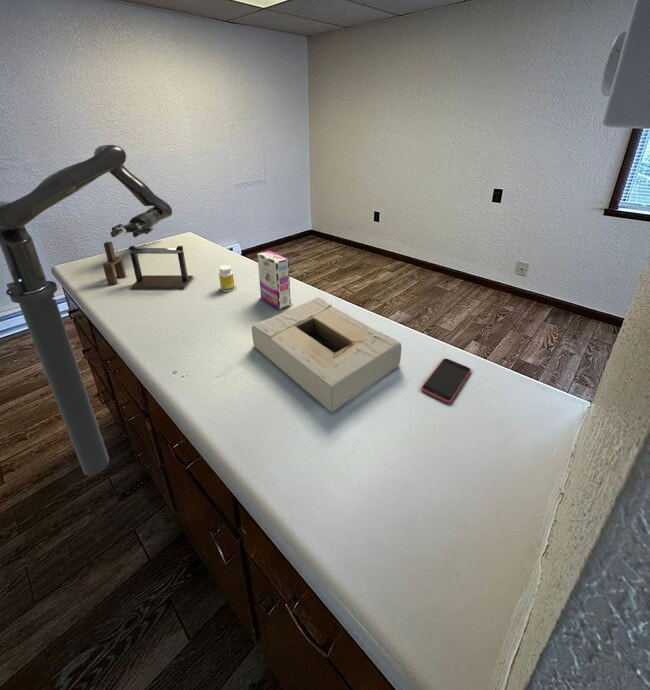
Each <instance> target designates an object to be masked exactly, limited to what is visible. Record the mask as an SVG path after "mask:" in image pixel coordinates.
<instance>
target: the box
mask: <svg viewBox="0 0 650 690" xmlns="http://www.w3.org/2000/svg"><path fill="white" fill-rule="evenodd" d="M251 335H252V342H253V346H254V347H255V348H256V350H258V351H260V353H262V354H263V355H264V356H265V357H266V358H267V359H268V360H269V361H270V362H272V363H273V364H274V365H275V366H277V367H278V368H279V369H280V370H281V371H282V372H283V373H285V374H286V375H287V376H288V377H289V378H291V379H292V380H293V381H294V382H295V383H296V384H298V385H299V386H300V387H301V388H302V389H303V390H304V391H306V392H307V393H308V394H309V395H310V396H311V397H312V398H314V399H315V400H316V401H318V402H319V403H320V404H321V405H322V406H323V407H324V408H325V409H327V411H329V412H331V413H332V412H335V411H336V410H337V409H339V408H341V407H342V406H343V405H344V404H346V403H348V402H349V401H351V400H352V399H354V398H355V397H356V396H358V395H359V394H360V393H362V392H364V391H365V390H366V389H368V388H369V387H370V386H372V385H373V384H375V383H376V382H378V381H379V380H380V379H382V378H383V377H384V376H386V375H388V374H390V372H392V371H393V370H395V369H396V368H397V367H399V366H400V364H401V360H402V359H401V357H402V344H401V342H400V341H398V340H397V339H395V338H393V337H391V336H389V335H386V334H384V333H383V332H381V331H378V330H376V329H375V328H372V327H371V326H369V325H367V324H365V323H364V322H362V321H360V320H358V319H356V318H354V317H353V316H351V315H349V314H347V313H345V312H343V311H342V310H340V309H338V308H337V307H335V306H333V305H332V304H330V303H329V302H326V300H324V299H323V298H321V297H318V296H317V297H314V298H313V299H311V300H309V301H306V302H304V303H301V304H300V305H297V306H295V307H293V308H290V309H288V310H286V311H283V312H281V313H279V314H276V315H274V316H272V317H269V318H268V319H265V320H262V321H260V322H257V323H254V324H253V325H252V326H251Z"/></svg>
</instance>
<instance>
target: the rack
mask: <svg viewBox="0 0 650 690" xmlns="http://www.w3.org/2000/svg"><path fill="white" fill-rule="evenodd" d="M183 246H184V245H178V246H176V247H137V246H136V245H130V246H129V247H128V250H129V255H130V259H131V263H132V269H133V272H134V276H135V282H134V283H133V284H132V285H131V286H130V288H131V290H185V289H186V288H187V286H188V285H189V284H190V283H191V281H192V280H193V279H194V278H193V277H194V276H193V275H188V269H187V264H186V258H185V251H184V247H183ZM142 254H146V255H147V254H149V255H151V254H152V255H153V254H155V255H157V254H158V255H163V254H164V255H165V254H166V255H167V254H169V255H177V258H178V263H179V269H180V275H175V274H174V275H173V274H172V275H171V274H170V275H168V274H167V275H166V274H165V275H154V274H153V275H151V274H150V275H149V274H148V275H143V273H142V269H141V265H140V261H139V257H138V255H142Z"/></svg>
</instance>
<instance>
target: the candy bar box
mask: <svg viewBox="0 0 650 690" xmlns="http://www.w3.org/2000/svg"><path fill="white" fill-rule="evenodd" d="M256 255H257V266H258V278H259V291H260V299H261V300H263V301H265V302H266V303H268V304H270V305H271V306H273V307H274V308H275V309H278V310H279V311H280V310H282V309H285V308H287V307H290V306H291V304H292V301H291V282H290V279H291V278H290V260H289V258H287V257H285V256H283V255H280V254H278V253H276V252H274V251H272V250H266V251H262V252H258V253H256Z"/></svg>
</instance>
